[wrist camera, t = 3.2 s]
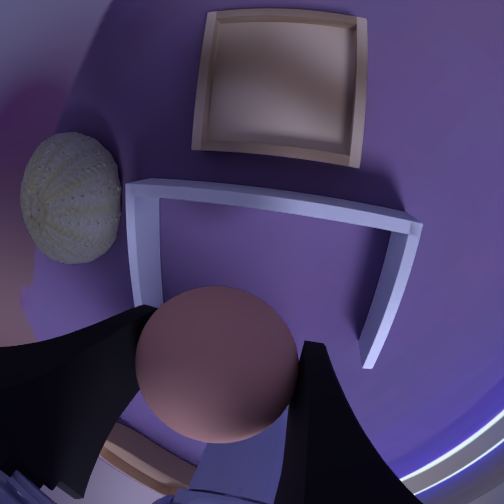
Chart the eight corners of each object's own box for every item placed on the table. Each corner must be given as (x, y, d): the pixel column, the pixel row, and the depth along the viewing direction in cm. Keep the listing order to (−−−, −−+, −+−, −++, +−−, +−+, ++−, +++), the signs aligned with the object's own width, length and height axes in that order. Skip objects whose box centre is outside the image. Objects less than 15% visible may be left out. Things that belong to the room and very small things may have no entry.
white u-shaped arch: (367, 342, 15) (371, 369, 13) (156, 301, 18) (136, 320, 15) (405, 211, 12) (423, 223, 10) (151, 178, 15) (125, 183, 12)
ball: (291, 379, 11) (271, 481, 6) (181, 353, 11) (126, 436, 7) (315, 274, 9) (311, 390, 4) (175, 250, 10) (81, 323, 5)
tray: (355, 167, 12) (359, 168, 11) (200, 150, 14) (191, 150, 12) (363, 28, 9) (366, 18, 8) (215, 20, 11) (207, 12, 10)
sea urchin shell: (55, 102, 12) (14, 149, 8) (143, 140, 18) (150, 200, 13) (21, 201, 16) (-3, 275, 11) (96, 226, 21) (95, 299, 17)
